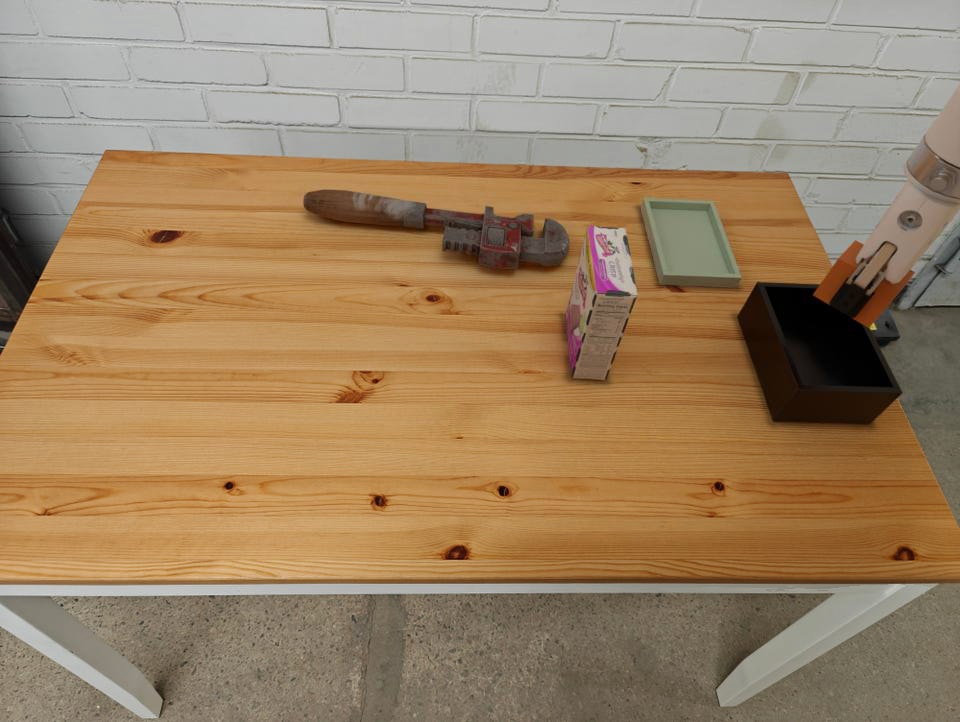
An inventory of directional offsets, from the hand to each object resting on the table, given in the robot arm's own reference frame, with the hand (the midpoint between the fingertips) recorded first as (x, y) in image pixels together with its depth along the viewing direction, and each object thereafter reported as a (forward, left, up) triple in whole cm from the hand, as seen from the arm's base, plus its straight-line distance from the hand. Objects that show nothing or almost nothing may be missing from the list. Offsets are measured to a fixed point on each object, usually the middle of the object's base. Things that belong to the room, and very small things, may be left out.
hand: (852, 297), depth 74 cm
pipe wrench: (+51, +20, -14) cm, 56 cm away
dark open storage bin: (0, 0, -13) cm, 13 cm away
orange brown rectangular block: (0, 0, -1) cm, 1 cm away
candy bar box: (+22, +19, -14) cm, 32 cm away
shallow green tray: (+24, -9, -13) cm, 29 cm away
